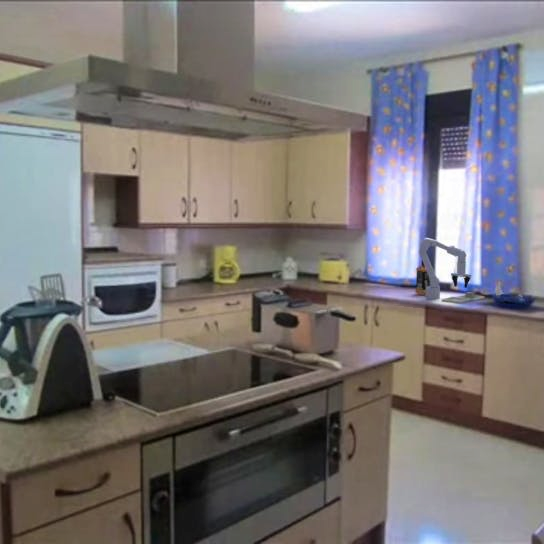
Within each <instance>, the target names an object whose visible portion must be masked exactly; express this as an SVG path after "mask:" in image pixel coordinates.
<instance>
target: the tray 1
mask: <svg viewBox="0 0 544 544" xmlns="http://www.w3.org/2000/svg"><path fill="white" fill-rule="evenodd" d="M441 302H443V303H453V304H463V303H464V304H465V303H468V302H471V301H470V299H469V298H460V297H458V296H450V297H445V298H442V299H441Z"/></svg>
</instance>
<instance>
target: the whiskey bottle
mask: <svg viewBox="0 0 544 544" xmlns="http://www.w3.org/2000/svg"><path fill="white" fill-rule="evenodd" d="M426 253H427V254H428V251H426ZM415 271H416V286H415V290H414V291H415V292H414V293H417V294H416V295H419V294H421V295H420V296H426V288H427V287H428V286H430V278H429V275H428V273H427V271H426V268H425V266H424V263H423V261H422V260H421V265H419V266H418V267H416V270H415Z"/></svg>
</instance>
